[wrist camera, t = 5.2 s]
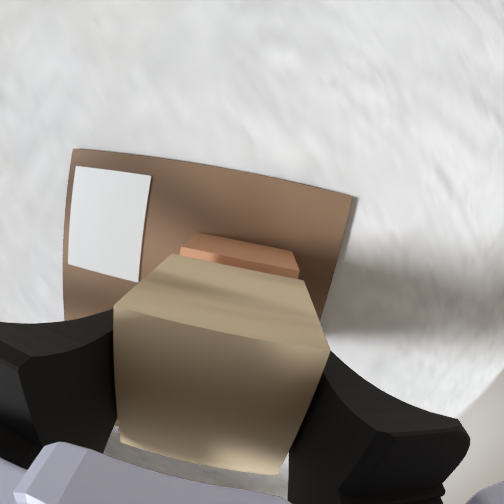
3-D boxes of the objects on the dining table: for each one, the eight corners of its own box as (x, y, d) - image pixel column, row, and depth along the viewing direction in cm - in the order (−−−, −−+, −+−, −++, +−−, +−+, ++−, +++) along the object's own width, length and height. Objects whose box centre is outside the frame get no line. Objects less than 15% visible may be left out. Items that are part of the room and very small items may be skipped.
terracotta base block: (271, 334, 17) (272, 369, 14) (185, 317, 17) (168, 348, 14) (291, 251, 16) (299, 270, 13) (197, 232, 16) (180, 246, 13)
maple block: (273, 385, 13) (276, 475, 8) (161, 362, 12) (120, 442, 8) (303, 280, 11) (330, 350, 7) (172, 253, 11) (113, 305, 6)
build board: (268, 456, 20) (268, 460, 20) (78, 407, 20) (76, 410, 20) (350, 196, 16) (353, 196, 15) (76, 148, 15) (72, 148, 15)
